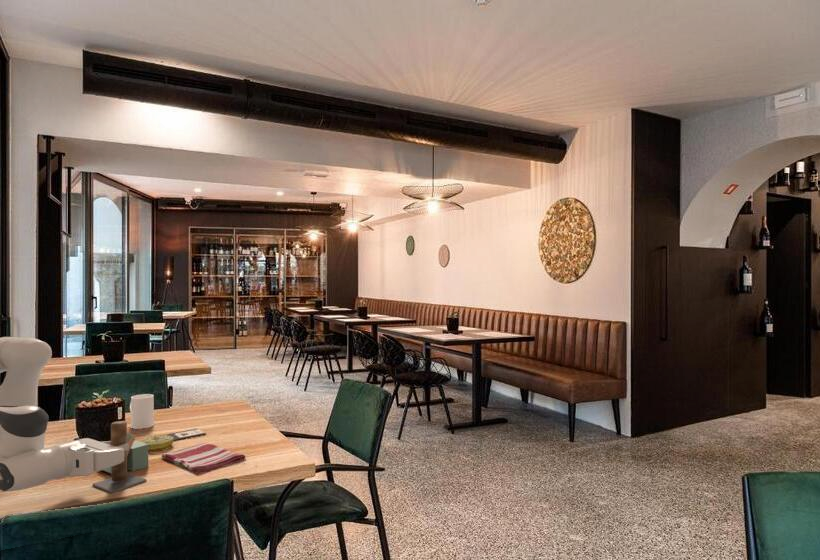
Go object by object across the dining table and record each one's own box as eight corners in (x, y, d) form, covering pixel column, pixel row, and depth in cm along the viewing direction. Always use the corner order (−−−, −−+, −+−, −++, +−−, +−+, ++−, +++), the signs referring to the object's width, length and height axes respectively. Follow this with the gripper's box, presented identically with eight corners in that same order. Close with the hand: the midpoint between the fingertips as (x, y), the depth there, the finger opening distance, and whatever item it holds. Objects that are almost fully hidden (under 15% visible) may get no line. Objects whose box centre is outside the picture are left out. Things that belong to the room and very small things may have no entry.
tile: (112, 473, 158) (131, 433, 163) (96, 468, 163) (115, 429, 167) (118, 475, 159) (136, 435, 164) (102, 469, 164) (120, 431, 169)
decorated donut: (172, 441, 192) (172, 431, 192) (174, 450, 182) (174, 439, 182) (140, 446, 187) (140, 435, 187) (140, 455, 178) (140, 443, 178)
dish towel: (197, 476, 159) (197, 467, 159) (159, 460, 174) (159, 452, 174) (246, 461, 172) (246, 452, 172) (207, 446, 187) (207, 439, 187)
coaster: (111, 493, 146) (111, 491, 146) (92, 485, 151) (92, 483, 151) (146, 481, 154) (146, 479, 154) (127, 474, 160) (127, 472, 160)
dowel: (109, 481, 150) (108, 425, 150) (114, 476, 154) (114, 421, 154) (124, 480, 151) (123, 424, 151) (129, 475, 155) (128, 420, 155)
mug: (121, 426, 212) (121, 396, 212) (142, 421, 220) (142, 392, 220) (138, 430, 206) (137, 399, 206) (159, 425, 213) (158, 395, 213)
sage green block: (132, 471, 162) (132, 448, 162) (113, 465, 168) (112, 442, 168) (148, 466, 166) (148, 444, 166) (128, 460, 172) (128, 438, 172)
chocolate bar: (147, 438, 194) (197, 428, 206) (147, 440, 194) (197, 430, 206) (155, 443, 188) (206, 433, 200) (155, 446, 188) (206, 435, 200)
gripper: (51, 463, 147) (103, 449, 159) (90, 477, 136) (142, 461, 148) (51, 440, 147) (102, 428, 159) (90, 453, 136) (142, 439, 148)
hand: (122, 444), depth 153 cm, fingers closed on dowel, 4 cm apart
